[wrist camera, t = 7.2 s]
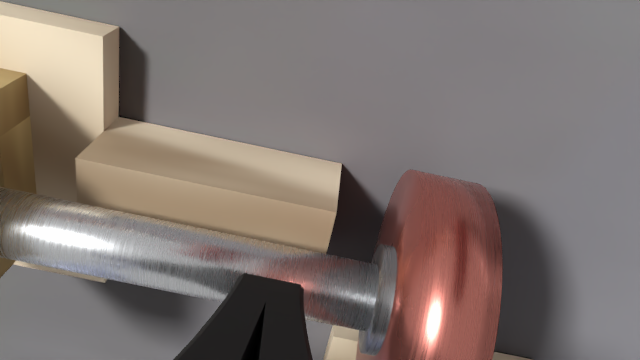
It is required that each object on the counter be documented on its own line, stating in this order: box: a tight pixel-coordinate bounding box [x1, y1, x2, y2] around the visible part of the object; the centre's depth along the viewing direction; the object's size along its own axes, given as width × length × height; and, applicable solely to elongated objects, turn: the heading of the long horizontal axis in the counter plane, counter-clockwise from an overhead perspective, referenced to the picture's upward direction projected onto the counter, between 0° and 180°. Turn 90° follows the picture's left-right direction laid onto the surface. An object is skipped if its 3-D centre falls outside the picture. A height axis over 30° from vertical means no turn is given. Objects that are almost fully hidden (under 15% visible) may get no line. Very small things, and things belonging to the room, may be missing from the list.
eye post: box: [0, 1, 342, 283], centre depth 13 cm, size 8×12×6 cm, turn 79°
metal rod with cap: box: [0, 170, 502, 360], centre depth 13 cm, size 6×15×6 cm, turn 79°
